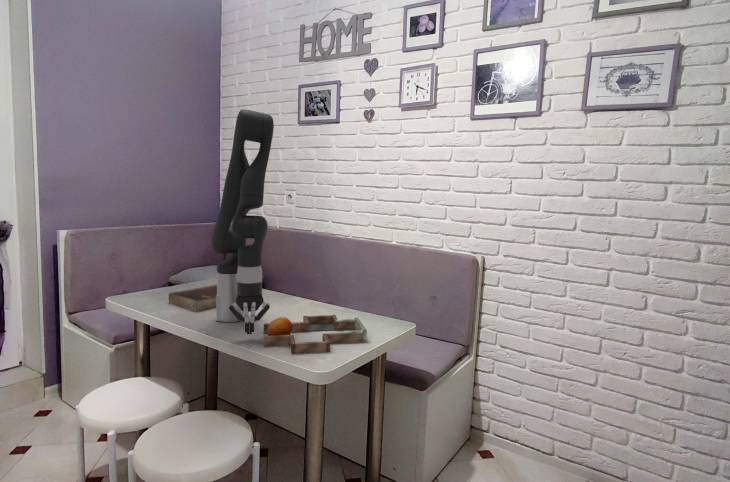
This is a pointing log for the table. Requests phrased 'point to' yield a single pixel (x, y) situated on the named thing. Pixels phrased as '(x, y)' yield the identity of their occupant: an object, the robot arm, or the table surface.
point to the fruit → (280, 327)
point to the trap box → (327, 338)
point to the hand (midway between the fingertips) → (249, 333)
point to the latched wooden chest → (195, 298)
